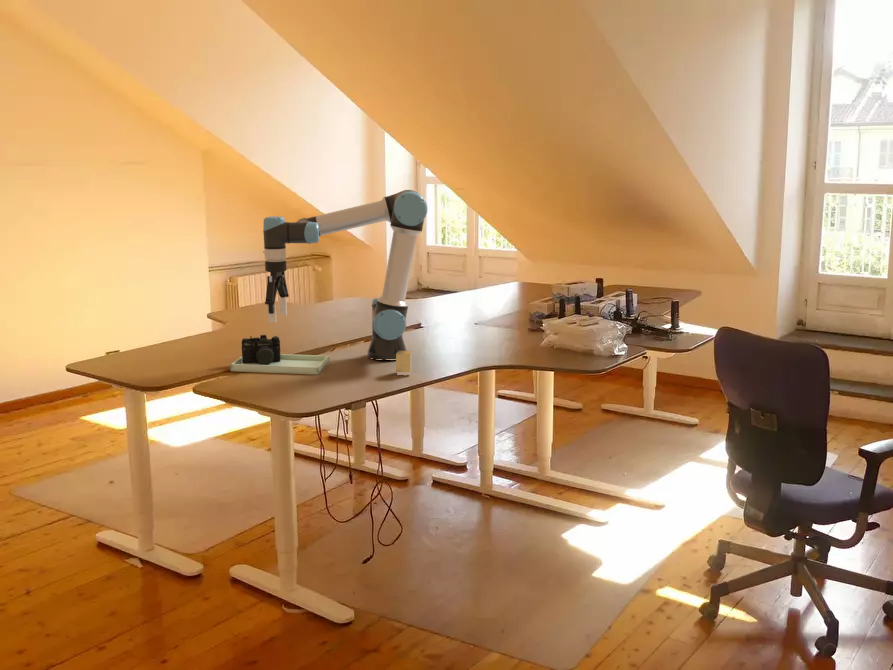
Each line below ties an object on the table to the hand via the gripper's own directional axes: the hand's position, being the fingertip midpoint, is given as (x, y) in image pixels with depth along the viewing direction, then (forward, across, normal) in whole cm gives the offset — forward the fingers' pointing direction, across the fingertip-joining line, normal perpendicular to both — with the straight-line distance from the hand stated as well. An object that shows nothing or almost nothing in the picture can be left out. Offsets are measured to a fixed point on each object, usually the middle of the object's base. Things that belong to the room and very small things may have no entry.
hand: (277, 318), depth 319 cm
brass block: (+19, +3, +46) cm, 50 cm away
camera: (+17, 0, -7) cm, 19 cm away
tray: (+18, 0, 0) cm, 18 cm away
